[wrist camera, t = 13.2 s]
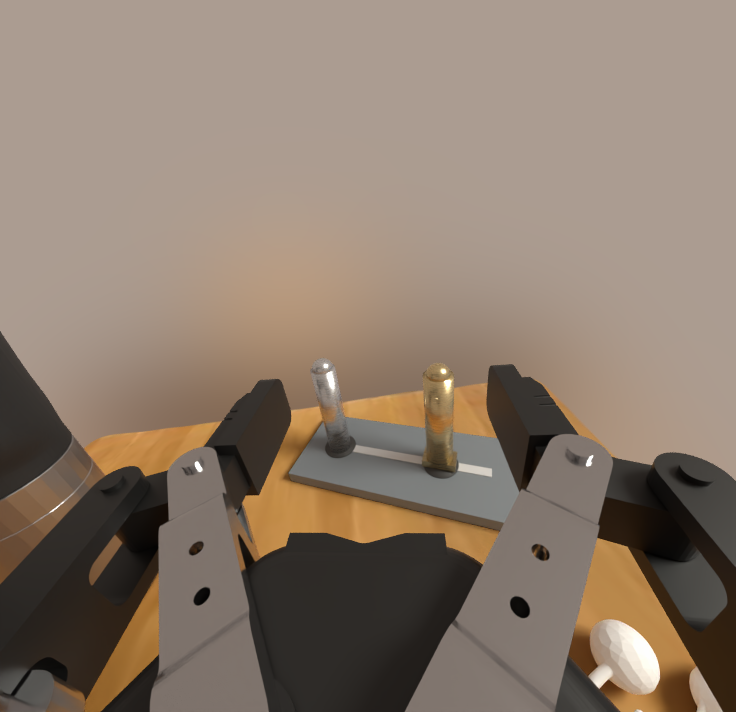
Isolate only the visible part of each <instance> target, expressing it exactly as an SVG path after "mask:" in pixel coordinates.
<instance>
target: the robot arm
mask: <svg viewBox="0 0 736 712" xmlns="http://www.w3.org/2000/svg"><path fill="white" fill-rule="evenodd" d="M487 411H488V415H489V418H490V421H491V423H492V426H493V428H494V431H495V433H496V436H497V438H498V441H499V443H500V446H501V448H502V451H503V453H504V456H505V458H506V460H507V463H508V465H509V468H510V470H511V473H512V475H513V478H514V480H515V483H516V485H517V488H518V490H519V495H518V496H517V498H516V500H515V502H514V504H513V506H512V508H511V510H510V512H509V514H508V516H507V518H506V520H505V522H504V524H503V526H502V528H501V530H500V532H499V534H498V536H497V538H496V540H495V542H494V544H493V546H492V548H491V550H490V552H489V554H488V556H487V558H486V560H485V562H484V564H483V565H482V564H481V563H480V562H478V561H477V560H475V559H474V558H472V557H470V556H468V555H467V554H465V553H463V552H460V551H458V550H455V549H452V548H449V547H446V540H445V533H404V534H400V535H396V536H393V537H389V538H385V539H381V540H377V541H374V542H370V543H358V542H355V541H352V540H348V539H345V538H341V537H338V536H335V535H331V534H328V533H290V535H289V538H288V541H287V545H286V546H285V547H282V548H279V549H277V550H274V551H272V552H270V553H268V554H267V555H265V556H263V557H262V558H260V556H259V553H258V551H257V547H256V544H255V541H254V538H253V534H252V531H251V528H250V524H249V521H248V518H247V515H246V511H245V508H244V506H243V504H242V502H243V500H244V498H245V496H246V495H259V494H260V492H261V489H262V487H263V485H264V483H265V480H266V478H267V476H268V473H269V471H270V469H271V467H272V464H273V462H274V460H275V458H276V455H277V453H278V451H279V448H280V446H281V444H282V442H283V439H284V437H285V435H286V432H287V430H288V428H289V426H290V422H291V410H290V407H289V403H288V400H287V397H286V394H285V391H284V388H283V384H282V382H281V381H280V380H279V379H271V380H260V381H258V383H257V384H256V385H255V387H254V388H253V390H252V391H251V393H247V394H246V395H245V396H243V397H242V398H241V399H239V400H238V401H237V402H236V403H235V405H234V406H233V407H232V409H231V410H230V413H228V414H227V416H226V417H225V418H224V421H222V422H221V424H220V425H219V426H218V428H217V429H216V431H215V432H214V433H213V435H212V436H211V437H210V439H209V440H208V442H207V443H206V444H205V446H204V447H200V448H196V449H193V450H191V451H189V452H187V453H185V454H183V455H182V456H181V457H179V458H178V459H177V460H176V461H175V462H174V463H173V464H172V465H171V466H170V468H169V470H168V471H164V472H161V473H157V474H153V475H150V476H146V477H145V475H144V474H143V473H142V471H141V470H140V469H139V468H138V467H135V466H129V467H124V468H121V469H118V470H116V471H113V472H112V473H110V474H108V475H106V476H105V474H104V473H103V472H102V471H101V469H100V468H99V467H98V466H97V464H96V463H95V462H94V461H93V459H92V458H91V457H90V456H89V455H88V454H87V452H86V451H85V450H84V449H83V447H82V446H81V445H80V444H79V442H78V441H77V440H76V439H75V437H74V436H73V435H72V434H71V432H70V431H69V430H68V429H67V427H66V426H65V425H64V423H63V422H62V421H61V419H60V418H59V416H58V415H57V413H56V412H55V410H54V408H53V406H52V405H51V403H50V401H49V400H48V398H47V397H46V396H45V394H44V393H43V391H42V390H41V389H40V388H39V386H38V385H37V384H36V382H35V381H34V380H33V378H32V377H31V376H30V374H29V373H28V372H27V370H26V369H25V368H24V366H23V364H22V363H21V362H20V360H19V359H18V358H17V356H16V354H15V353H14V351H13V350H12V348H11V347H10V345H9V344H8V342H7V341H6V339H5V338H4V336H3V335H2V333H1V332H0V712H84V711H85V701H86V699H87V697H88V695H89V694H90V692H91V690H92V688H93V686H94V685H95V683H96V681H97V679H98V678H99V676H100V674H101V672H102V670H103V669H104V667H105V665H106V663H107V662H108V660H109V658H110V656H111V654H112V653H113V651H114V649H115V647H116V646H117V644H118V642H119V640H120V638H121V637H122V635H123V633H124V631H125V630H126V628H127V626H128V624H129V622H130V621H131V619H132V617H133V615H134V614H135V612H136V610H137V608H138V607H139V605H140V603H141V601H142V599H143V598H144V596H145V594H146V592H147V591H148V589H149V587H150V586H151V584H152V582H153V581H154V579H155V577H156V575H157V573H158V571H159V655H158V656H157V657H156V658H155V659H154V660H153V661H152V662H151V663H150V664H149V665H148V666H147V667H146V668H145V669H144V670H143V671H142V672H141V673H140V674H139V675H138V676H137V677H136V678H135V679H134V680H133V681H132V682H131V683H130V684H129V685H128V686H127V687H126V688H125V689H124V690H123V691H121V692H120V693H119V694H118V695H117V696H116V697H115V698H114V699H113V700H112V701H111V702H110V703H109V704H108V705H107V706H106V707H105V708H104V709H103V710H102V711H101V712H620V711H619V710H618V709H617V708H616V706H615V705H614V704H613V703H612V702H611V701H610V700H609V699H608V698H607V697H606V696H605V694H604V693H603V692H602V691H601V690H600V689H599V688H598V687H597V686H596V685H595V684H594V682H593V681H592V680H591V679H590V678H589V677H588V676H587V675H586V674H585V673H584V672H583V670H582V669H581V668H580V667H579V666H578V665H577V664H576V663H575V662H574V661H573V660H572V658H571V657H570V656H569V655H568V653H569V649H570V645H571V641H572V637H573V633H574V629H575V625H576V621H577V617H578V613H579V609H580V605H581V601H582V597H583V593H584V589H585V585H586V581H587V576H588V572H589V568H590V564H591V560H592V556H593V552H594V548H595V544H596V540H597V538H600V539H603V540H607V541H610V542H614V543H617V544H621V545H624V546H628V548H629V550H630V552H631V553H632V555H633V557H634V559H635V560H636V562H637V564H638V565H639V567H640V569H641V571H642V572H643V574H644V576H645V578H646V579H647V581H648V583H649V585H650V586H651V588H652V590H653V591H654V593H655V595H656V597H657V598H658V600H659V602H660V604H661V605H662V607H663V609H664V611H665V612H666V614H667V616H668V617H669V619H670V621H671V623H672V624H673V626H674V628H675V630H676V631H677V633H678V635H679V637H680V638H681V640H682V642H683V644H684V645H685V647H686V649H687V650H688V652H689V654H690V656H691V657H692V659H693V661H694V663H695V664H696V666H697V668H698V670H699V671H700V673H701V675H702V676H703V678H704V680H705V682H706V683H707V685H708V687H709V689H710V690H711V692H712V694H713V696H714V697H715V699H716V701H717V702H718V704H719V706H720V708H721V709H722V711H723V712H736V481H735V480H734V479H733V478H732V477H731V476H730V475H729V474H727V473H726V472H725V471H723V470H722V469H720V468H719V467H717V466H715V465H714V464H711V463H710V462H708V461H705V460H703V459H700V458H698V457H694V456H691V455H687V454H682V453H664V454H661V455H659V456H657V457H656V459H655V460H654V462H653V465H647V464H642V463H637V462H632V461H627V460H622V459H617V458H614V457H611V455H610V454H609V452H608V451H607V450H606V449H605V448H604V447H603V446H601V445H600V444H598V443H597V442H595V441H593V440H591V439H589V438H586V437H583V436H580V435H578V433H577V432H576V430H575V429H574V428H573V426H572V425H571V424H570V422H569V421H568V420H567V418H566V417H565V415H564V414H563V413H562V411H561V410H560V409H559V407H558V406H556V403H555V402H554V400H553V399H552V398H551V397H550V395H549V394H548V392H547V391H546V389H545V388H544V387H543V385H541V384H540V383H538V382H537V381H535V380H534V379H532V378H531V377H521V375H520V374H519V372H518V371H517V369H516V368H515V366H514V365H512V364H509V365H493V366H490V368H489V375H488V387H487Z"/></svg>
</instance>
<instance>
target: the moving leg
mask: <svg viewBox="0 0 736 712" xmlns="http://www.w3.org/2000/svg"><path fill="white" fill-rule="evenodd" d="M423 390H424V411H425V432H426V446H425V450H424V454H423V458H422V466H423V467H429V468H434V469H439V470H445V471H450V472H455V471H456V463H457V452H456V451H453V418H454V374H453V372H452V371H451V370H449V368H448V367H447V366H446V365H444V364H442V363H435V364H432V365H431V366H429V368H428V369H427V370H426V371H425V372H424V373H423Z"/></svg>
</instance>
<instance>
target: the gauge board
mask: <svg viewBox="0 0 736 712" xmlns="http://www.w3.org/2000/svg"><path fill="white" fill-rule="evenodd" d="M345 418H346V423H347V427H348V432H349V437H350V442H351V446H350V448H349V449H348V450H347V451H346V452H344V453H340V454H337V453H333V452H332V451H331V449H330V446H329V442H328V438H327V434H326V430H325V426H324V423H322V424H321V426H320V427H319V429H318V430H317V431H316V433H315V434H314V436H313V437H312V439H311V440H310V442H309V443H308V445H307V446H306V448H305V449H304V451H303V452H302V454H301V455H300V457H299V458H298V460H297V461H296V463H295V464H294V465H293V467H292V468H291V470H290V471H289V473H288V474H289V477H290V479H291V481H294V482H298V483H302V484H306V485H311V486H315V487H319V488H323V489H327V490H332V491H336V492H340V493H344V494H348V495H352V496H357V497H361V498H365V499H369V500H373V501H378V502H382V503H386V504H390V505H394V506H399V507H403V508H407V509H411V510H415V511H419V512H424V513H428V514H432V515H436V516H440V517H445V518H449V519H453V520H457V521H461V522H466V523H470V524H474V525H478V526H482V527H487V528H491V529H495V530H499V531H500V530H501V528H502V526H503V524H504V522H505V520H506V518H507V516H508V514H509V512H510V510H511V508H512V506H513V504H514V502H515V500H516V498H517V496H518V495H519V490H518V488H517V485H516V483H515V480H514V478H513V475H512V473H511V470H510V468H509V465H508V463H507V460H506V458H505V456H504V453H503V451H502V448H501V446H500V443H499V441H498V438H491V437H484V436H476V435H469V434H462V433H455V432H453V451H456V452H457V463H456V471H455V472H450V471H445V470H439V469H434V468H429V467H423V466H422V458H423V454H424V450H425V446H426V432H425V428H420V427H413V426H406V425H398V424H391V423H384V422H377V421H370V420H363V419H356V418H349V417H345Z"/></svg>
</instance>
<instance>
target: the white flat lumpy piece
mask: <svg viewBox="0 0 736 712" xmlns="http://www.w3.org/2000/svg"><path fill="white" fill-rule="evenodd" d="M590 647H591V652H592V655H593V657H594V660H595V661H596V663H597V665H598V667H597V668H596V669H595V670H594V671H593V672H592V673H590V674H589V676H588V677H589V678H590V679H591V680H592V681H593V682H594V684H595V685H596V686H597V687H598V688H599V689H600V687H601V686H602V685H603V684H604V683H605V682H606V681H607V680H608V679H609V680H610V681H611V682H613V683H614V684H615V685H617V686H618V687H619V688H621V689H623V690H625V691H627V692H629V693H632V694H637V695H645V694H649V693H651V692H652V691H654V690H655V688H656V686H657V684H658V682H659V680H660V670H659V665H658V661H657V658H656V656H655V654H654V652H653V650H652V648H651V647H650V645H649V644H648V642H647V641H646V640H645V639H644V638H643V637H642V636H641V635H640V634H639V633H638V632H637V631H636V630H634V629H633V628H632V627H630V626H628V625H626V624H625V623H622V622H620V621H617V620H612V619H606V620H602V621H600V622H598V623H596V624H595V625H594V627H593V628H592V631H591V633H590ZM689 684H690V690H691V693H692V697H693V699H694V701H695V703H696V705H697V706H698V708H697V712H723V711H722V709H721V708H720V706H719V704H718V702H717V701H716V699H715V697H714V696H713V694H712V692H711V690H710V689H709V687H708V685H707V683H706V682H705V680H704V678H703V676H702V675H701V673H700V671H699V670H698V668H697V667H695V668H694V669H693V670H692V671H691V674H690V681H689ZM634 712H642V711H641V710H638V709H637V710H635V711H634Z"/></svg>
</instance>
